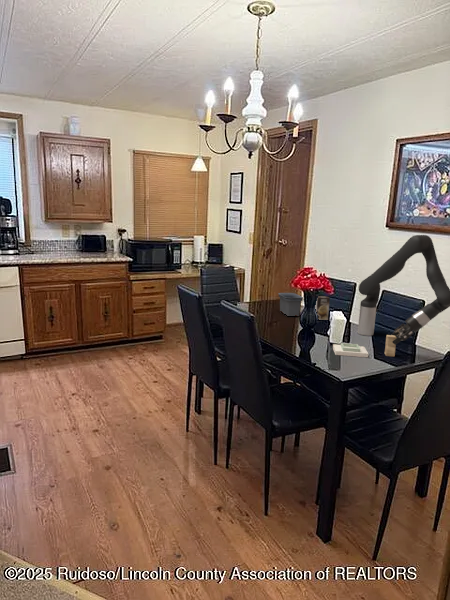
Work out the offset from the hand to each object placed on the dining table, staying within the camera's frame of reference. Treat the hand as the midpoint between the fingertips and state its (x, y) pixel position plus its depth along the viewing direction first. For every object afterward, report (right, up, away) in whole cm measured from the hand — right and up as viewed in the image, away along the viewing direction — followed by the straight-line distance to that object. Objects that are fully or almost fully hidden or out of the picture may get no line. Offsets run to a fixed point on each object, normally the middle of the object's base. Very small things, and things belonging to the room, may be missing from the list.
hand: (391, 341), depth 215 cm
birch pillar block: (-1, -7, +1) cm, 8 cm away
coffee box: (-20, +7, +74) cm, 77 cm away
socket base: (-20, -6, +3) cm, 22 cm away
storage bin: (-38, +10, +86) cm, 95 cm away
